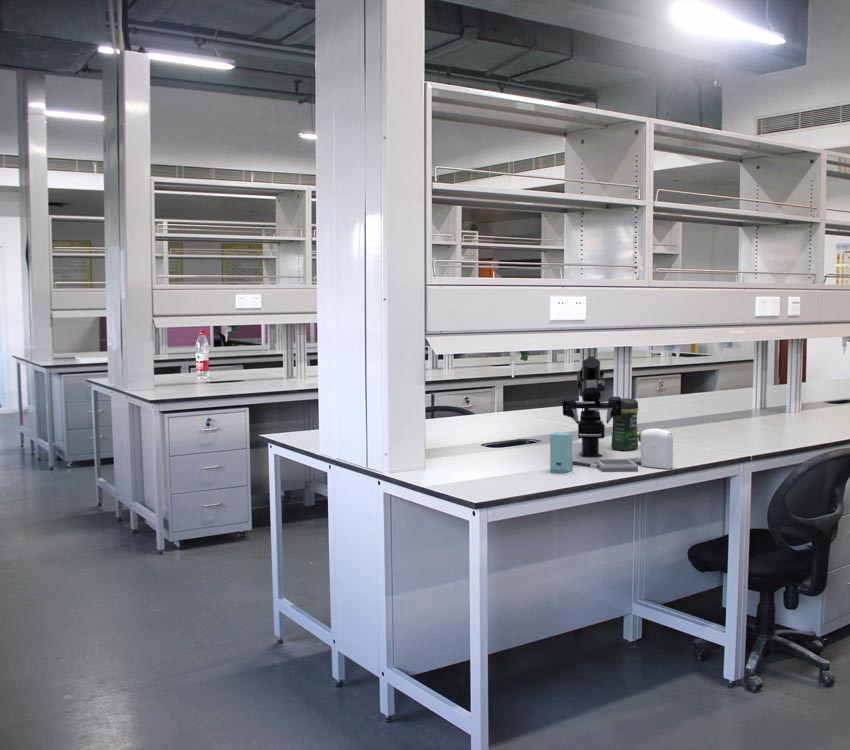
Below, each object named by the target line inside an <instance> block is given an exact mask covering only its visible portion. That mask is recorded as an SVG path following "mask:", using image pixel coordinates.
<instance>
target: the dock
mask: <svg viewBox="0 0 850 750" xmlns="http://www.w3.org/2000/svg"><path fill="white" fill-rule="evenodd" d="M630 459H631V458H615V459H614V458H613V459H610V458H609V459H607V458H606V459H605V458H603V459H594V464H597V465H598V468H597V469H598V470H600V472H601V473H611V472H612V473H613V472H614V473H616V472H617V473H618V472H621V473H624V472H625V473H626V472H627V473H628V472H631V473H632V472H638V471H639V465H637V464H636V463H634V462H633V461H631V460H630Z"/></svg>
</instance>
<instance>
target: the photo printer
mask: <svg viewBox="0 0 850 750" xmlns="http://www.w3.org/2000/svg"><path fill="white" fill-rule="evenodd" d="M641 432H642V433H641V442H640V459H641V465H640V467H644V466H645V468H646V467H647V468H657V469H664V470H671V468H672V469H673V466H674V458H673V455H674V454H673V453H674V451H673V450H674V449H673V445H674V443H673V441H674V439H673V436H674V435H673V433H672V432H671V431H669V430H666V429H662V428H656V427H655V428H647V429H644V430H642V431H641Z"/></svg>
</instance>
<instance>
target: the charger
mask: <svg viewBox="0 0 850 750" xmlns="http://www.w3.org/2000/svg"><path fill="white" fill-rule="evenodd" d="M549 442H550V443H549V445H550V447H549V458H550V459H549V463H550V464H549V466H550V467H549V471H550V472H554V473H553V474H559V473H569V472H571V471H572V472H574V471H573V464H572V461H573V433H572V432H552V433H550V435H549ZM550 472H549V473H550ZM572 472H571V473H572ZM569 474H570V473H569Z"/></svg>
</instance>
